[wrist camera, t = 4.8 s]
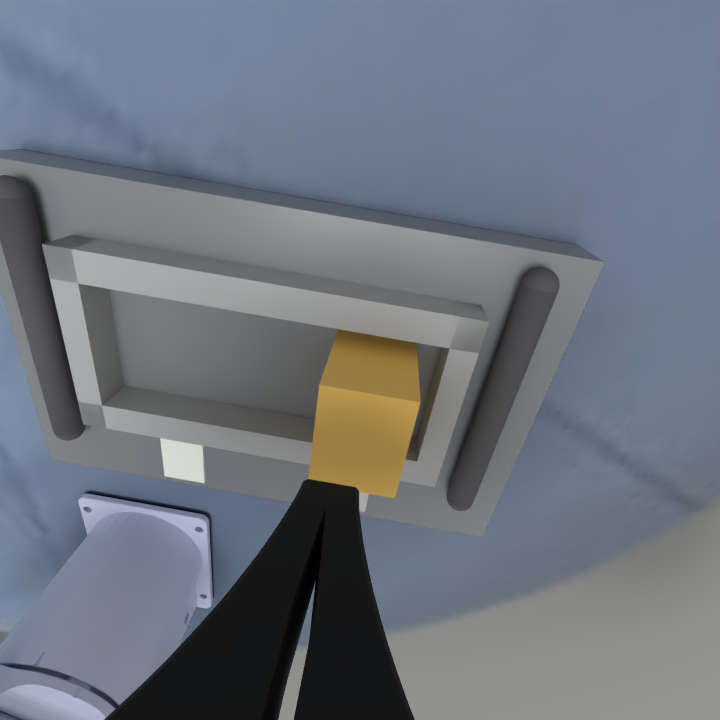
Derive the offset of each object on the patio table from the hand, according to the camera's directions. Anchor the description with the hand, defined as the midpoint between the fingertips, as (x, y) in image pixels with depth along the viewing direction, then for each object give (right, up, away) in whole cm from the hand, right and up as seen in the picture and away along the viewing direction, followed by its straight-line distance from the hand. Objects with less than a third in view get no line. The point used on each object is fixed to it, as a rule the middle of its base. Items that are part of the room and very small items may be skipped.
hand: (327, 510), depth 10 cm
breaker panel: (-3, +4, +9) cm, 10 cm away
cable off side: (+6, +2, +6) cm, 9 cm away
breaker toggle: (+1, +3, +6) cm, 7 cm away
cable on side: (-12, +5, +6) cm, 14 cm away
